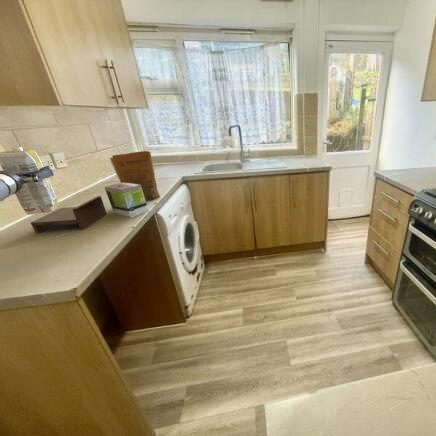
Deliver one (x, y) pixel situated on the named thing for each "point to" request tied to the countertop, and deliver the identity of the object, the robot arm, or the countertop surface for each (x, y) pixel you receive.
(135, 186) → the tea box
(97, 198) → the shelf
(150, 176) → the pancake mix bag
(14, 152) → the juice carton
